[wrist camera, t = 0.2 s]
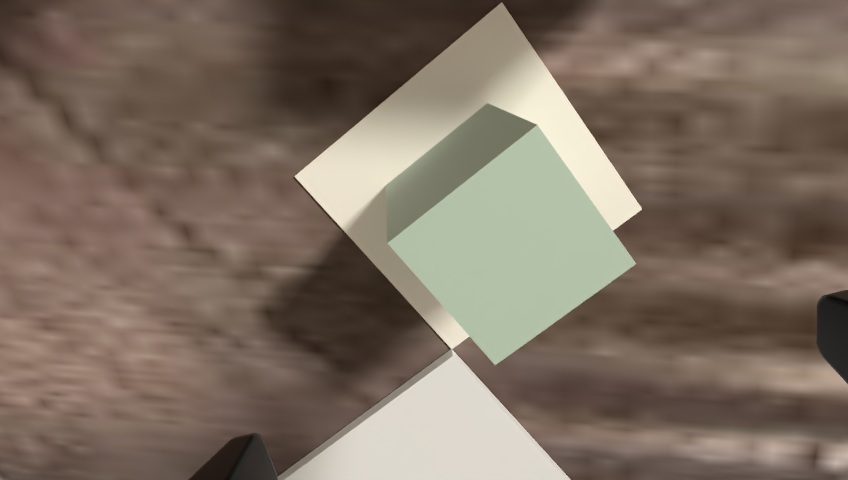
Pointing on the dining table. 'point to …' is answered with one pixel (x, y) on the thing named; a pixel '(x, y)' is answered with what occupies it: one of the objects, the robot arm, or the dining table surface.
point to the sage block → (501, 231)
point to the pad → (431, 436)
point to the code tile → (435, 119)
